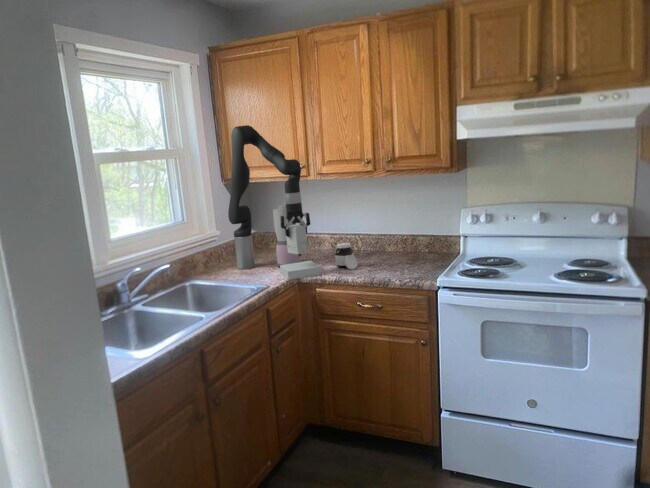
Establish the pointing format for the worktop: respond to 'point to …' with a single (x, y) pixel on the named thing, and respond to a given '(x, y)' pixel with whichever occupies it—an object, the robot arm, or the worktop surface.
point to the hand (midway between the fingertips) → (296, 235)
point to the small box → (297, 239)
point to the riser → (300, 270)
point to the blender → (283, 239)
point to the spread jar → (345, 256)
